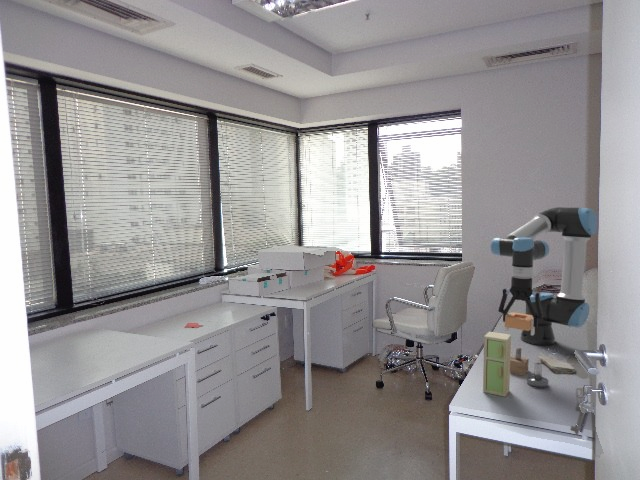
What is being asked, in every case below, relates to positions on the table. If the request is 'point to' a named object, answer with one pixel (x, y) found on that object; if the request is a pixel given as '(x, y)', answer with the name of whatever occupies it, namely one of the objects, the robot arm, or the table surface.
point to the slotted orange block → (518, 321)
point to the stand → (518, 363)
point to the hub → (537, 378)
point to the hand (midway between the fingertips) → (519, 332)
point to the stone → (557, 365)
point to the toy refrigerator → (496, 363)
